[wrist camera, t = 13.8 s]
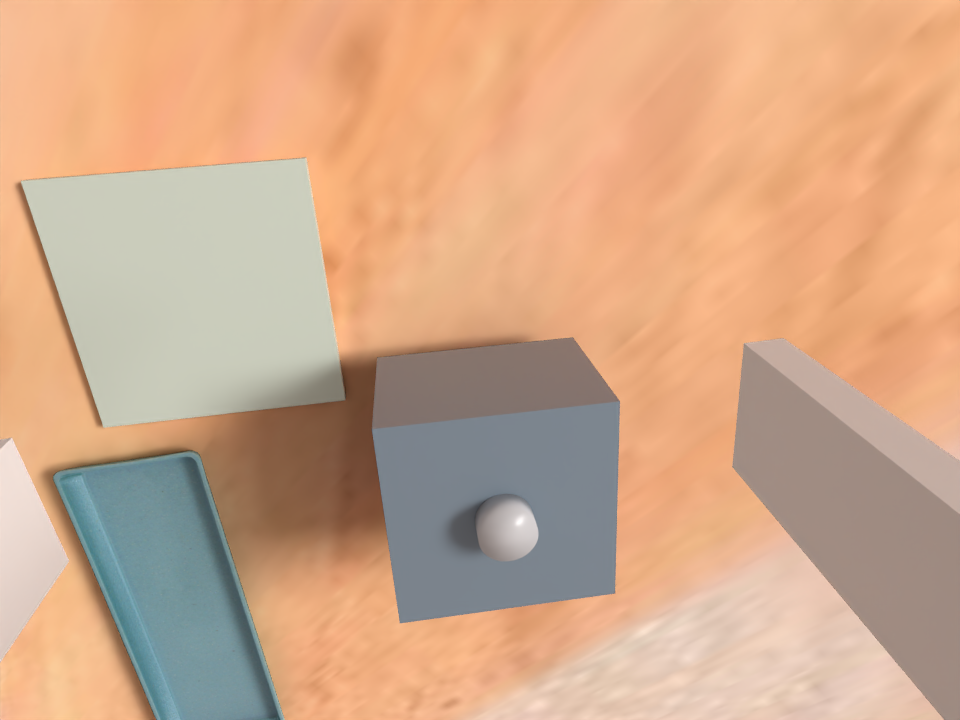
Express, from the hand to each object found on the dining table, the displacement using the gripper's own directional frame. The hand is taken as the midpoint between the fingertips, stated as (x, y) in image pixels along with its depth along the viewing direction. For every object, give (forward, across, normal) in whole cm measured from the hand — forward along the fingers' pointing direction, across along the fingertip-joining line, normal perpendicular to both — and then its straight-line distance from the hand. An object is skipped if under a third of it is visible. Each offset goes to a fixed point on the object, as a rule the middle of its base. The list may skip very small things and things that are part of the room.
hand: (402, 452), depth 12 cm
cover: (+25, +3, -15) cm, 29 cm away
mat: (+28, -13, -5) cm, 31 cm away
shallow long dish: (+28, -19, -27) cm, 43 cm away
